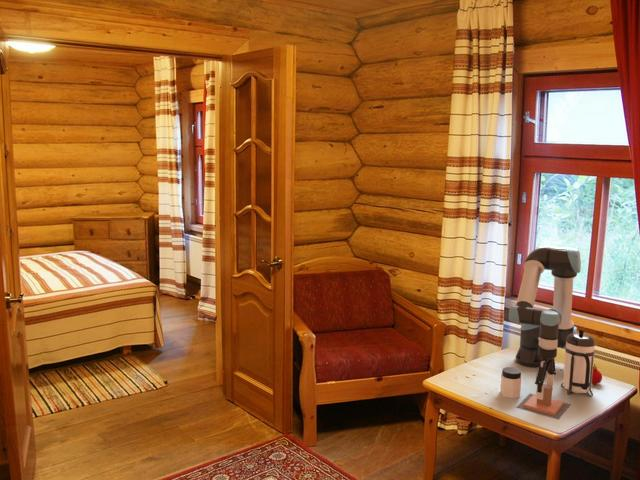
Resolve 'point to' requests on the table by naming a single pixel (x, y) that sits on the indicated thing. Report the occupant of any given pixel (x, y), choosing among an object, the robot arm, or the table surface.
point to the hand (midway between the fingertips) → (544, 393)
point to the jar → (510, 382)
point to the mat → (557, 415)
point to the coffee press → (579, 363)
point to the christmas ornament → (596, 375)
